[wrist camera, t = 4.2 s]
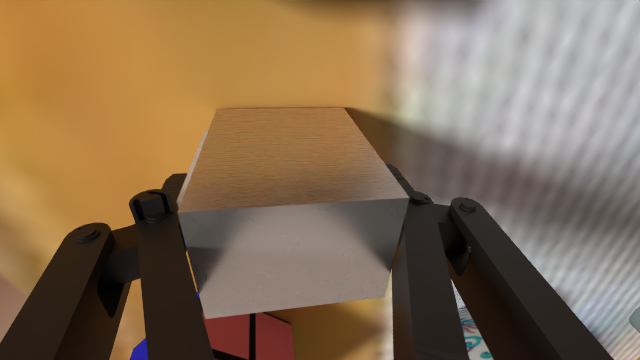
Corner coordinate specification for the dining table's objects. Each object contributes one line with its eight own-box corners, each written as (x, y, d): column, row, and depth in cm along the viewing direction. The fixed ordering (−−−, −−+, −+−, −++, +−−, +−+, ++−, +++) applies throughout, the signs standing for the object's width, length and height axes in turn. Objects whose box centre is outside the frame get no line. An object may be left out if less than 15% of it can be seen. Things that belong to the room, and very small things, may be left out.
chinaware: (399, 372, 38) (428, 449, 32) (388, 309, 30) (424, 395, 23) (507, 337, 39) (557, 406, 32) (526, 265, 30) (599, 338, 24)
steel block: (343, 107, 17) (409, 197, 9) (336, 181, 20) (384, 297, 12) (216, 108, 16) (177, 212, 8) (227, 186, 18) (205, 319, 11)
